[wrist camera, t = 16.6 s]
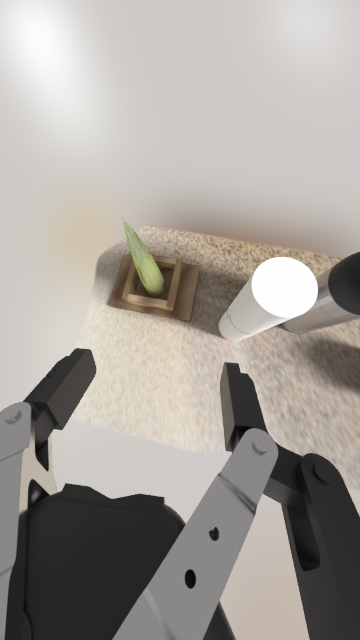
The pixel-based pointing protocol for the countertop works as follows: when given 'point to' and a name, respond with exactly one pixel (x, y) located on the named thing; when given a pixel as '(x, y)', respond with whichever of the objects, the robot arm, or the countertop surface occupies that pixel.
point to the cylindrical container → (270, 298)
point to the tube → (144, 263)
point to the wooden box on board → (168, 304)
